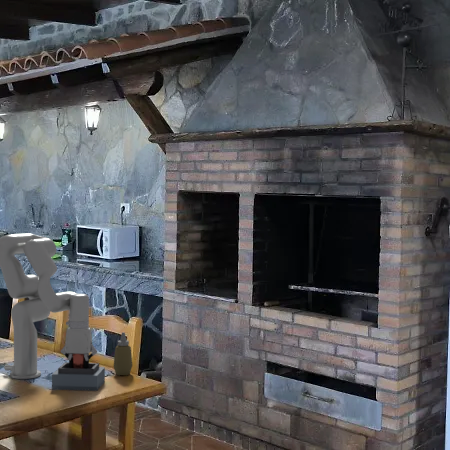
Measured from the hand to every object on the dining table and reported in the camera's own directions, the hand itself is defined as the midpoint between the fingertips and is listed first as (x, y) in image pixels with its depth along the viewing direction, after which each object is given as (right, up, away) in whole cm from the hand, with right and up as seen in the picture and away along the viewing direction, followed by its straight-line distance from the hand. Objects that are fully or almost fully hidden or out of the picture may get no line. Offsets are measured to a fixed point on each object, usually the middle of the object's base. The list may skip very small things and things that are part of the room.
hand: (78, 369), depth 284 cm
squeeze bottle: (+15, -6, +18) cm, 25 cm away
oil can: (0, -2, 0) cm, 2 cm away
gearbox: (0, -7, 0) cm, 7 cm away
